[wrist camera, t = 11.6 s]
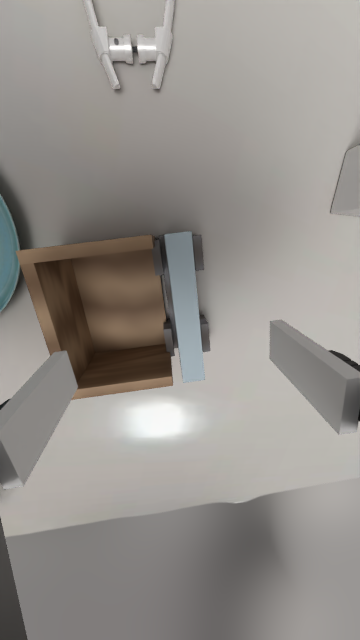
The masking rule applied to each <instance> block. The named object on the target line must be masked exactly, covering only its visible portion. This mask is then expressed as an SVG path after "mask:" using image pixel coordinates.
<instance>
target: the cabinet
mask: <svg viewBox="0 0 360 640" xmlns="http://www.w3.org/2000/svg"><path fill="white" fill-rule="evenodd" d="M192 242H193V253H194V264H195V270H196V271H198V270H204V264H203V251H202V239H201V235H194V236H192ZM16 254H17V257H18V260H19V263H20V266H21V269H22V272H23V275H24V278H25V281H26V284H27V287H28V290H29V293H30V296H31V299H32V302H33V305H34V308H35V311H36V314H37V317H38V320H39V323H40V326H41V329H42V332H43V335H44V338H45V341H46V344H47V347H48V350H49V353H50V356H51V355H52V354H53V353H54V352H59V351H67V354H68V357H69V360H70V363H71V366H72V370H73V373H74V376H75V379H76V382H77V385H78V388H77V390H76V392H75V394H74V396H73V397H72V399H71V400H73V399H81V398H88V397H95V396H102V395H109V394H116V393H123V392H131V391H138V390H145V389H152V388H159V387H166V386H173V378H172V365H171V356H175V354H174V348H178V342H177V334H176V326H175V319H174V311H173V303H172V295H171V288H170V280H169V272H168V264H167V256H166V249H165V241H164V235H160V236H159V240H155V236H153V235H144V236H135V237H127V238H119V239H110V240H102V241H94V242H85V243H77V244H69V245H60V246H52V247H44V248H35V249H27V250H19V251H16ZM160 275H164V278H165V286H166V293H167V300H168V308H169V315H170V319H166V314H165V306H164V299H163V292H162V285H161V278H160ZM199 319H200V330H201V341H202V350H203V352H207V351H210V340H209V328H208V322H207V321H206V319H205V317H204V315H199Z"/></svg>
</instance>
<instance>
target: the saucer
mask: <svg viewBox="0 0 360 640" xmlns="http://www.w3.org/2000/svg"><path fill="white" fill-rule="evenodd" d="M19 250H20V243H19V237H18V233H17V229H16V226H15V223H14V220H13V218H12V215H11V213H10V211H9V208H8V206H7V204H6V202H5V200H4V199H3V197H2V195H1V194H0V313H1V312H2V310H3V309H4V308H5V307H6V305H7V304H8V302H9V301H10V299H11V297H12V295H13V293H14V291H15V288H16V286H17V283H18V279H19V274H20V263H19V260H18V257H17V254H16V251H19Z"/></svg>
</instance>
